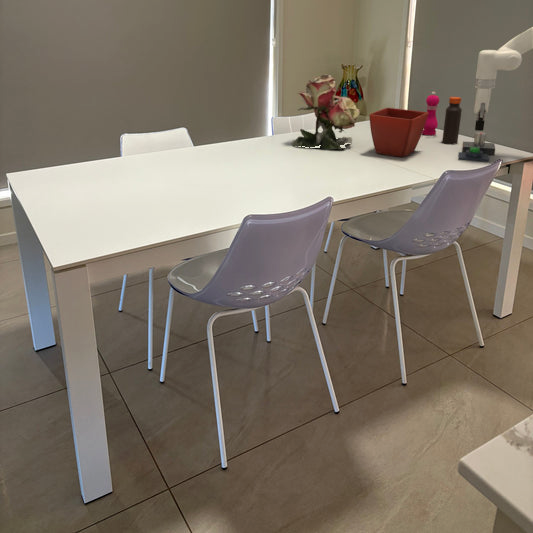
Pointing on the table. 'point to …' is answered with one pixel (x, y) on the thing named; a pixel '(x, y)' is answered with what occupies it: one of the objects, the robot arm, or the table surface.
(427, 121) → the pepper mill
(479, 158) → the housing
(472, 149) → the start button
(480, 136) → the program dial
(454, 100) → the bottle
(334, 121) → the rose bouquet
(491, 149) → the dial panel
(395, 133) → the flower pot
